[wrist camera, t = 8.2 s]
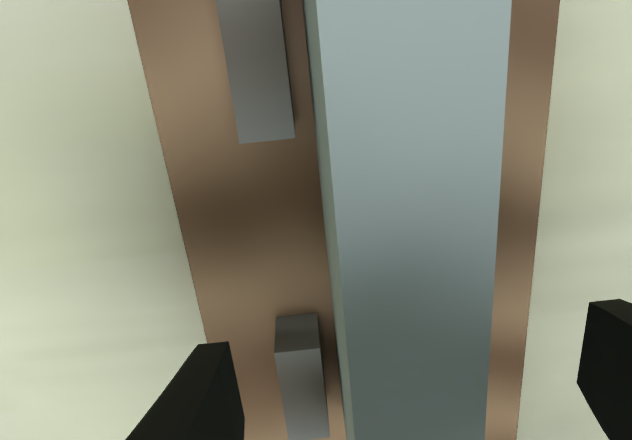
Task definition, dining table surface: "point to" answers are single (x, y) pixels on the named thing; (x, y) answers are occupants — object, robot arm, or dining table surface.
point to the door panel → (410, 205)
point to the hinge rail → (309, 200)
